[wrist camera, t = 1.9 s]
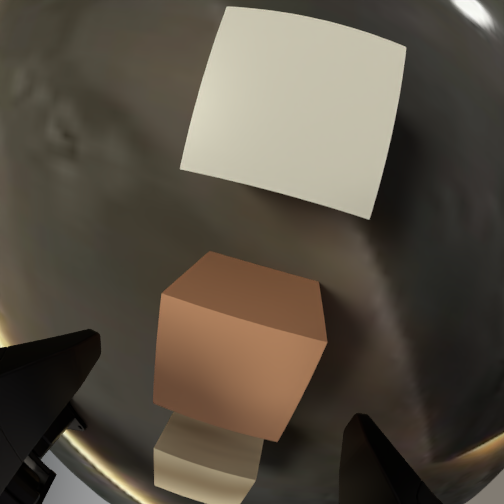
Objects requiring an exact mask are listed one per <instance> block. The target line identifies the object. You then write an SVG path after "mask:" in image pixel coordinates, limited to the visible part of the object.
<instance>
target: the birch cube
mask: <svg viewBox="0 0 504 504" xmlns="http://www.w3.org/2000/svg"><path fill="white" fill-rule="evenodd" d="M263 441H264V439H261V438H257V437H253V436H249V435H245V434H242V433H238V432H234V431H231V430H227V429H224V428H221V427H217V426H214V425H211V424H208V423H205V422H202V421H199V420H196V419H193V418H190V417H188V416H185V415H182V414H179V413H177V412H173V414H172V416H171V417H170V419H169V421H168V423H167V425H166V427H165V428H164V430H163V432H162V434H161V436H160V438H159V439H158V441H157V443H156V445H155V447H154V485H155V486H157V487H160V488H163V489H165V490H168V491H170V492H173V493H176V494H179V495H182V496H184V497H187V498H190V499H194V500H197V501H200V502H203V503H207V504H240V503H241V502H242V500H243V499H244V497H245V496H246V494H247V493H248V491H249V490H250V488H251V487H252V485H253V484H254V482H255V481H256V477H257V472H258V467H259V462H260V457H261V452H262V447H263Z"/></svg>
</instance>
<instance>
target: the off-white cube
mask: <svg viewBox="0 0 504 504" xmlns="http://www.w3.org/2000/svg"><path fill="white" fill-rule="evenodd" d="M405 55H406V47H405V46H402V45H400V44H397V43H395V42H392V41H389V40H387V39H384V38H381V37H379V36H376V35H373V34H370V33H367V32H364V31H361V30H357V29H354V28H351V27H347V26H344V25H340V24H336V23H332V22H328V21H324V20H320V19H316V18H311V17H306V16H301V15H296V14H290V13H284V12H277V11H270V10H262V9H253V8H241V7H227V8H226V10H225V13H224V16H223V19H222V21H221V24H220V27H219V30H218V33H217V36H216V39H215V41H214V44H213V48H212V51H211V54H210V57H209V60H208V63H207V66H206V70H205V73H204V76H203V80H202V83H201V86H200V90H199V93H198V97H197V101H196V104H195V108H194V112H193V116H192V119H191V123H190V127H189V131H188V135H187V140H186V144H185V148H184V152H183V157H182V161H181V166H180V169H182V170H186V171H191V172H196V173H200V174H205V175H209V176H213V177H218V178H222V179H226V180H230V181H235V182H239V183H243V184H247V185H251V186H255V187H259V188H262V189H266V190H270V191H274V192H278V193H281V194H285V195H289V196H292V197H296V198H299V199H303V200H306V201H310V202H313V203H317V204H320V205H324V206H327V207H330V208H334V209H337V210H340V211H343V212H346V213H350V214H353V215H356V216H359V217H362V218H365V219H368V220H370V216H371V213H372V210H373V206H374V203H375V199H376V196H377V192H378V189H379V185H380V181H381V178H382V174H383V170H384V166H385V162H386V158H387V153H388V149H389V145H390V140H391V136H392V131H393V127H394V122H395V117H396V112H397V106H398V101H399V95H400V89H401V83H402V77H403V70H404V62H405Z"/></svg>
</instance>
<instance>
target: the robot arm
mask: <svg viewBox="0 0 504 504" xmlns="http://www.w3.org/2000/svg"><path fill="white" fill-rule="evenodd" d="M100 354H101V341H100V334H99V333H98V332H96V331H94V330H92V329H87V330H83V331H78V332H74V333H69V334H65V335H61V336H56V337H52V338H47V339H42V340H38V341H33V342H28V343H23V344H18V345H13V346H9V347H8V348H7V347H3V348H0V504H42V502H43V500H44V498H45V496H46V494H47V492H48V490H49V488H50V486H51V484H52V482H53V480H54V479H55V477H56V473H55V472H54V471H52V470H50V469H49V468H48V467H47V466H46V465H45V464H44V463H43V462H42V461H41V459H42V457H43V456H44V455H45V453H47V451H48V450H49V449H50V448H51V447H52V446H53V444H54V443H55V442H56V441H57V440H58V438H59V437H60V436H61V435H62V434H63V433H64V431H65V430H66V429H72V430H78V431H85V430H86V428H87V427H86V425H85V424H84V423H83V422H82V420H81V419H80V418H79V417H78V415H77V414H76V413H75V411H74V410H73V409H72V408H71V406H70V405H69V403H68V402H69V401H70V400H71V398H72V397H73V396H74V395H75V393H76V392H77V391H78V389H79V388H80V387H81V385H82V384H83V382H84V381H85V379H86V378H87V376H88V374H89V373H90V371H91V370H92V368H93V366H94V365H95V363H96V362H97V360H98V359H99V357H100ZM339 504H443V503H442V502H441V501H440V500H439V499H438V498H437V497H436V496H435V495H434V494H433V493H432V492H431V490H430V489H429V488H428V487H427V486H426V485H425V483H424V482H423V481H421V479H420V478H419V476H418V475H417V474H416V473H415V472H414V470H413V469H412V468H411V467H410V465H409V464H408V463H407V462H406V461H405V459H404V458H403V457H402V456H401V455H400V453H399V452H398V451H397V450H396V448H395V447H394V446H393V445H392V444H391V442H390V441H389V440H388V439H387V437H386V436H385V435H384V434H383V433H382V431H381V430H380V429H379V428H378V426H377V425H376V424H375V423H374V422H373V420H372V419H371V418H370V417H369V416H368V415H367V414H362V413H356V414H355V415H354V416H353V418H352V419H351V420H350V422H349V423H348V425H347V426H346V428H345V430H344V433H343V443H342V452H341V461H340V470H339Z"/></svg>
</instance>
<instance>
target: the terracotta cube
mask: <svg viewBox="0 0 504 504" xmlns="http://www.w3.org/2000/svg"><path fill="white" fill-rule="evenodd" d="M326 344H327V335H326V327H325V320H324V313H323V306H322V299H321V293H320V286H319V282H317V281H314V280H310V279H307V278H303V277H299V276H296V275H292V274H289V273H285V272H282V271H278V270H274V269H271V268H267V267H264V266H260V265H257V264H253V263H250V262H246V261H243V260H239V259H236V258H232V257H229V256H225V255H222V254H218V253H215V252H211V251H209V252H208V253H207V254H206V255H205V256H203V257H202V258H201V259H200V260H199V261H198V262H197V263H195V264H194V265H193V266H192V267H191V268H190V269H189V270H187V271H186V272H185V273H184V274H183V275H182V276H181V277H179V278H178V279H177V280H176V281H175V282H174V283H173V284H172V285H170V286H169V287H168V288H167V289H166V290H165V291H164V292H163V293H162V295H161V304H160V313H159V323H158V333H157V345H156V358H155V373H154V393H153V403H154V404H157V405H159V406H161V407H164V408H166V409H169V410H171V411H174V412H177V413H179V414H182V415H185V416H188V417H190V418H193V419H196V420H199V421H202V422H205V423H208V424H211V425H214V426H217V427H221V428H224V429H227V430H231V431H234V432H238V433H242V434H245V435H249V436H253V437H257V438H261V439H266V440H270V441H275V442H278V440H279V438H280V437H281V435H282V433H283V431H284V429H285V428H286V426H287V424H288V422H289V420H290V418H291V417H292V415H293V413H294V411H295V409H296V407H297V405H298V403H299V401H300V399H301V397H302V395H303V393H304V391H305V389H306V387H307V385H308V383H309V381H310V379H311V377H312V375H313V373H314V371H315V369H316V366H317V364H318V362H319V360H320V358H321V356H322V353H323V351H324V349H325V347H326Z"/></svg>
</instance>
